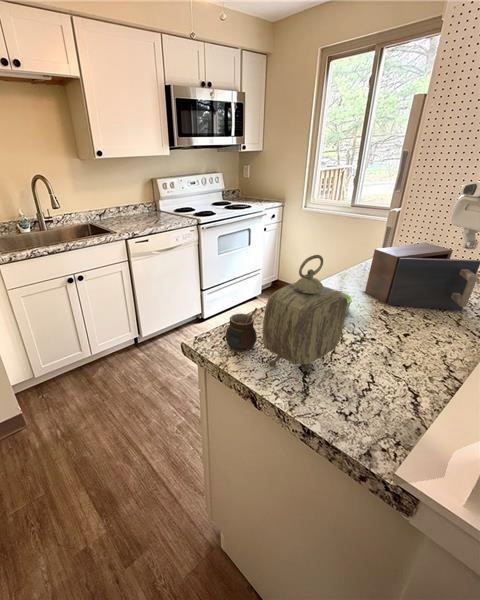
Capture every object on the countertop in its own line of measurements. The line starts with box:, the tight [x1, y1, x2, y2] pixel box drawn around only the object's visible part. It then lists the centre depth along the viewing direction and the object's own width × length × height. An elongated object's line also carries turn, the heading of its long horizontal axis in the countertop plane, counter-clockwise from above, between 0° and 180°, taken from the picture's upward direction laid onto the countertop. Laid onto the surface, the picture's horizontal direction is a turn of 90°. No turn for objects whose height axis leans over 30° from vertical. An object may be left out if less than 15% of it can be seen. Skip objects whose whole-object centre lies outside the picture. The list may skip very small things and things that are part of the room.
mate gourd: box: [224, 307, 259, 353], centre depth 74 cm, size 7×8×10 cm
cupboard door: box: [386, 258, 480, 312], centre depth 80 cm, size 6×16×14 cm, turn 67°
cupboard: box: [364, 242, 454, 304], centre depth 90 cm, size 8×16×14 cm, turn 96°
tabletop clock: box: [262, 254, 347, 370], centre depth 63 cm, size 14×9×25 cm, turn 120°
